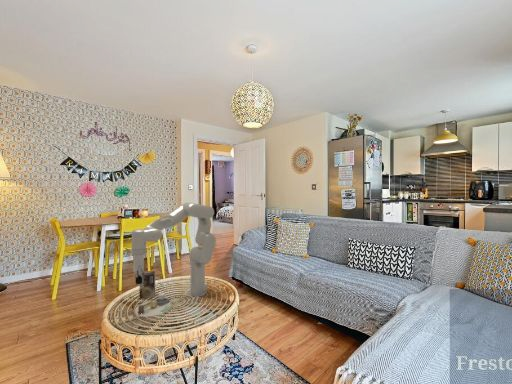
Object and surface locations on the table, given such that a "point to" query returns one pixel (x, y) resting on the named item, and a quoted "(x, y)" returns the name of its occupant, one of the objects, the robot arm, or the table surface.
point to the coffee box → (147, 285)
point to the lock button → (161, 297)
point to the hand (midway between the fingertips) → (138, 283)
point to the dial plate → (160, 308)
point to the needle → (147, 305)
